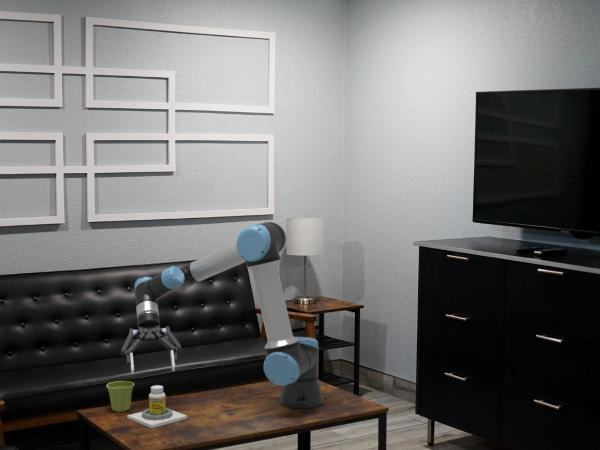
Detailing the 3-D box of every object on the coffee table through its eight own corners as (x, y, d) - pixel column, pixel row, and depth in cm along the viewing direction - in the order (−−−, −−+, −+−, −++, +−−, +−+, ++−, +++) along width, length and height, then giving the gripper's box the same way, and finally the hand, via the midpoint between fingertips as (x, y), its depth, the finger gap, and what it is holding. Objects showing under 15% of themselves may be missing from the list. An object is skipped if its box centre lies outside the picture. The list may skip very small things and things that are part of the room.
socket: (187, 418, 292) (187, 412, 292) (151, 428, 282) (151, 421, 282) (162, 409, 302) (162, 403, 302) (127, 418, 292) (127, 411, 292)
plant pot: (106, 414, 297) (106, 388, 296) (106, 406, 306) (106, 381, 305) (135, 412, 299) (134, 387, 298) (134, 404, 308) (134, 380, 307)
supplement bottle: (164, 412, 296) (164, 384, 295) (166, 417, 290) (166, 388, 289) (148, 413, 294) (148, 385, 293) (149, 418, 289) (149, 389, 288)
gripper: (182, 321, 315) (189, 373, 302) (111, 325, 309) (114, 378, 296) (184, 309, 310) (191, 361, 297) (111, 313, 303) (115, 367, 290)
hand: (153, 370), depth 296 cm, fingers open, 13 cm apart
